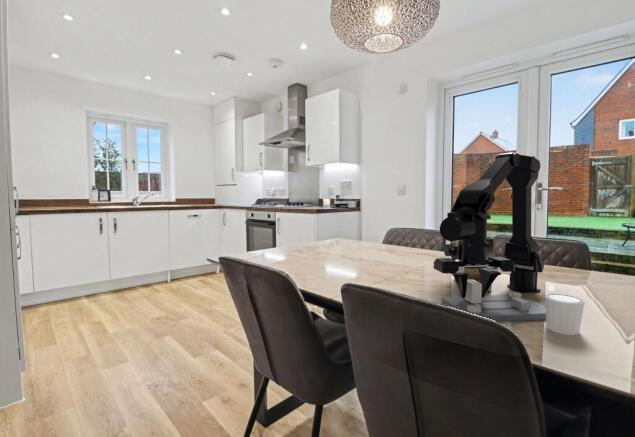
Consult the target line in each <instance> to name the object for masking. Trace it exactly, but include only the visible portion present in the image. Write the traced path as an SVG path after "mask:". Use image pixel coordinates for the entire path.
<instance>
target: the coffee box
mask: <svg viewBox="0 0 635 437" xmlns="http://www.w3.org/2000/svg"><path fill="white" fill-rule="evenodd" d="M486 242H487V243H490V244H489V247H486V259H488V257H494V246H495V245H494V237H492V236H487V239H486ZM458 261H461V260H458ZM469 265H470V264H469ZM476 265H480V264H476ZM464 273H466V274H468V279H471V280H475V281H477V282H479V283H480V274H479V271H478V268H467V269H465V270H464ZM468 279H467V280H468ZM492 284H493V283H492ZM492 284H491V286H490V287H489V289H488V291H489V292H488V293H492V286H493V285H492Z"/></svg>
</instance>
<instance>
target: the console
mask: <svg viewBox="0 0 635 437" xmlns="http://www.w3.org/2000/svg"><path fill="white" fill-rule="evenodd" d="M441 304H443V306H446V305H447V306H450V307H453V308H456V309H459V310H463V311H466V312H469V313H472V314H476V315H479V316H482V317H486V318H489V319H492V320H495V321H497V322H519V321H521V322H522V321H523V322H524V321H541V320H542V321H543V320H545V321H546V308H545V304H544V305H543V304H541V303H539V302H537V301H534V300H533V299H530V298H528V297H526V296H524V295H522V292H519V291H508V294H496V295H494V294H493V295H485V296H484V297H483V298H481V303H471V302H469V301H467V300H466V299H464V298H462V297H461V296H441ZM445 304H446V305H445ZM447 306H446V307H447ZM497 322H496V323H497Z"/></svg>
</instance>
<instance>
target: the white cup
mask: <svg viewBox="0 0 635 437" xmlns="http://www.w3.org/2000/svg"><path fill="white" fill-rule="evenodd" d="M544 303H545V304H544V306H545V308H546V320H545V321H546V328H547V329H548V330H549V331H551V332H554V333H556V334H560V335H564V336H565V335H566V336H576V335H579V334H580V330H581V324H582V319H583V312H584V307H585V300H583V299H582V298H580V297H577V296H573V295H568V294H561V293H547V294H545V295H544Z"/></svg>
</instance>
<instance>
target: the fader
mask: <svg viewBox="0 0 635 437" xmlns="http://www.w3.org/2000/svg"><path fill="white" fill-rule="evenodd" d="M481 293H482V284H481V283H479V282H477V281H475V280H471V279H468V280H467V289H466V296H465V298H464V299H466V300H467V301H469V302H471V303H481Z"/></svg>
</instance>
